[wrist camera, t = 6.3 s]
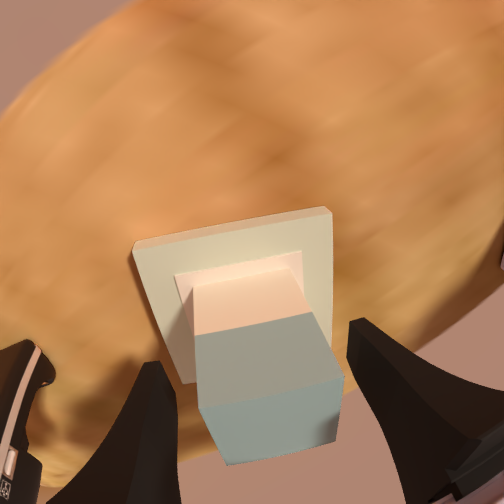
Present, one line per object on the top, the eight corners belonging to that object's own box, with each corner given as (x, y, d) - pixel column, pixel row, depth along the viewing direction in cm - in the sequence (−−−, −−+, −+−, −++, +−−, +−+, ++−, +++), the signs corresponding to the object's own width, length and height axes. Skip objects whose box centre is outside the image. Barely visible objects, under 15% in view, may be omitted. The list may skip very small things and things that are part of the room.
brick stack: (289, 267, 13) (344, 376, 8) (294, 337, 15) (335, 441, 10) (193, 286, 13) (198, 408, 8) (212, 354, 15) (226, 465, 10)
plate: (324, 205, 13) (333, 214, 13) (325, 342, 17) (331, 355, 16) (135, 241, 13) (131, 252, 12) (182, 372, 17) (182, 385, 16)
